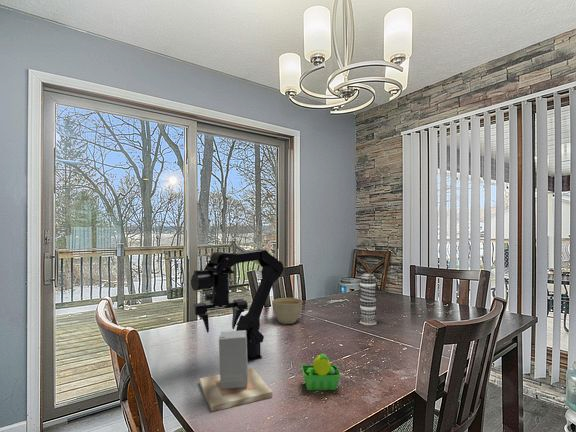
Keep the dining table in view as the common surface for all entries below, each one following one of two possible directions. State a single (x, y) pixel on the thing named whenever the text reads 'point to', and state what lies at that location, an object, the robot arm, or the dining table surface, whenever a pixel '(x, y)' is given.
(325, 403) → the dining table surface
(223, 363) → the skincare box
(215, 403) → the birch base
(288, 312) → the planter bowl
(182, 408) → the dining table surface
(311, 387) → the fruit basket
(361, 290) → the decorative candle
